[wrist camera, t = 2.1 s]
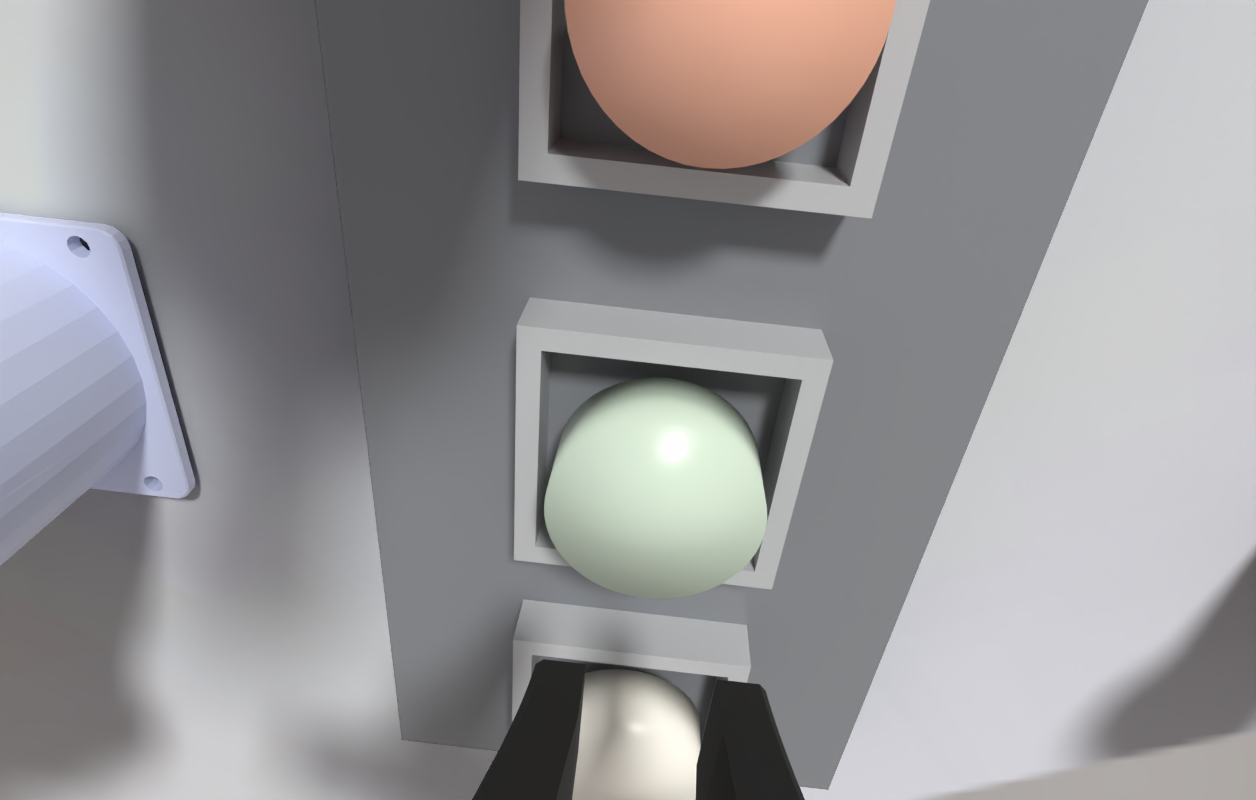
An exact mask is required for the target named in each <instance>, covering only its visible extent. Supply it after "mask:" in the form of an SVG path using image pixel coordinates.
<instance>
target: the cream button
mask: <svg viewBox="0 0 1256 800" xmlns="http://www.w3.org/2000/svg"><path fill="white" fill-rule="evenodd" d="M700 748H701V742H700V717H699V714H698V711H697V709H696V707H695V705H694V703H693V702H692V700H691V699H690V698H689V697H688V696H687V695H686V694H685V693H684V692H683V691H682V690H680V689H679V688H678V687H676V686H675V685H673V684H671V683H670V682H668V681H666V680H664V679H662V678H659V677H656V676H654V675H651V674H647V673H643V672H639V671H633V670H623V669H606V670H597V671H592V672H588V673H585V682H584V693H583V704H582V715H581V726H580V737H579V748H578V757H577V765H576V773H575V780H574V788H573V796H572V800H696V765H697V761H698V757H699V752H700Z"/></svg>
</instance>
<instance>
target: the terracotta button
mask: <svg viewBox="0 0 1256 800" xmlns="http://www.w3.org/2000/svg"><path fill="white" fill-rule="evenodd" d="M895 3H896V0H564V4H565V14H566V22H567V29H568V34H569V38H570V42H571V46H572V50H573V54H574V56H575V59H576V62H577V64H578V67H579V69H580V72H581V75H582V77H583V78H584V80H585V82H586V84H587V86H588V88H589V90H590V92H591V94H592V95H593V97H594V98H595V99H596V101H597V102H598V104H599V105H600V107H601V108H602V110H603V111H604V112H605V113H606V114H607V115H608V117H609V118H610V119H611V120H612V121H613V122H614V123H615V124H616V126H617V127H619V128H620V129H621V130H622V131H623V132H624V133H626V134H627V135H628V136H629V137H630V138H631V139H632V140H634V141H635V142H637V143H639V144H640V145H642V146H643V147H645V148H646V149H648V150H649V151H651V152H653V153H656V154H658V155H660V156H662V157H664V158H666V159H669V160H672V161H675V162H678V163H681V164H684V165H689V166H695V167H701V168H713V169H728V168H739V167H746V166H750V165H755V164H759V163H763V162H766V161H769V160H771V159H774V158H777V157H780V156H782V155H784V154H786V153H788V152H790V151H792V150H794V149H796V148H798V147H800V146H801V145H803V144H804V143H806V142H807V141H809V140H810V139H812V138H813V137H815V136H816V135H818V134H819V133H820V132H821V131H822V130H823V129H825V128H826V127H827V126H828V125H829V124H830V123H832V122H833V121H834V120H835V119H836V118H837V117H838V116H839V115H840V114H841V112H842V111H843V110H844V109H845V108H846V107H847V106H848V105H849V104H850V103H851V101H852V100H853V98H854V97H855V96H856V94H857V93H858V92H859V90H860V89H861V87H862V86H863V85H864V83H865V81H866V80H867V78H868V76H869V74H870V73H871V71H872V69H873V67H874V66H875V64H876V62H877V59H878V57H879V55H880V53H881V50H882V48H883V46H884V43H885V41H886V38H887V34H888V31H889V28H890V25H891V21H892V18H893V13H894V8H895Z"/></svg>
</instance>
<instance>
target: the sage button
mask: <svg viewBox="0 0 1256 800" xmlns="http://www.w3.org/2000/svg"><path fill="white" fill-rule="evenodd" d="M544 517H545V522H546V527H547V530H548V533H549V535H550V538H551V540H552V542H553V544H554V546H555V547H556V549H557V550H558V552H559V553H560V554H561V556H562V557H563V558H564V559H565V560H566V561H567V562H568V564H569V565H570V566H571V567H572V568H574V569H575V570H576V571H577V572H579V573H580V574H581V575H583V576H584V577H586V578H587V579H589V580H591V581H592V582H594V583H596V584H598V585H600V586H602V587H604V588H607V589H609V590H612V591H615V592H618V593H622V594H625V595H629V596H635V597H641V598H652V599H668V598H678V597H685V596H689V595H694V594H698V593H701V592H704V591H707V590H709V589H712V588H714V587H716V586H718V585H720V584H722V583H724V582H725V581H727V580H729V579H730V578H732V577H733V576H734V575H736V574H737V573H738V572H739V571H741V570H742V569H743V568H744V567H745V566H746V565H747V564H748V563H749V562H750V560H751V559H752V557H753V556H754V555H755V553H756V552H757V550H758V548H759V546H760V544H761V542H762V540H763V537H764V534H765V530H766V524H767V505H766V499H765V492H764V486H763V479H762V473H761V467H760V460H759V454H758V448H757V443H756V441H755V438H754V435H753V432H752V431H751V429H750V427H749V425H748V423H747V422H746V420H745V419H744V418H743V416H742V415H741V414H740V413H739V412H738V411H737V410H736V409H735V408H734V407H733V406H732V405H731V404H730V403H729V402H728V401H726V400H725V399H724V398H722V397H721V396H719V395H718V394H716V393H714V392H713V391H711V390H709V389H707V388H704V387H702V386H700V385H697V384H694V383H691V382H687V381H684V380H679V379H673V378H661V377H650V378H639V379H633V380H627V381H624V382H621V383H618V384H614V385H612V386H610V387H608V388H605V389H603V390H601V391H600V392H598V393H596V394H595V395H593V396H591V397H590V398H589V399H588V400H586V401H585V402H584V403H583V404H582V405H581V406H580V407H579V408H578V409H577V410H576V411H575V412H574V413H573V415H572V416H571V418H570V419H569V420H568V422H567V424H566V426H565V428H564V430H563V432H562V435H561V438H560V442H559V445H558V449H557V453H556V457H555V460H554V464H553V468H552V472H551V476H550V479H549V483H548V487H547V491H546V494H545V502H544Z"/></svg>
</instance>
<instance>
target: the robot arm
mask: <svg viewBox="0 0 1256 800" xmlns="http://www.w3.org/2000/svg"><path fill="white" fill-rule="evenodd" d="M79 237H80V238H82V239H83V240H84V241H86V242H87V244H88V246H89V247H90V251H89V250H87V249H86V248H85V247H84V246H83V245H82V244H81V242H80V239H79ZM156 478H157V479H158V480H160V481H158V480H157V479H156ZM194 487H195V478H194V474H193V471H192V467H191V464H190V460H189V456H188V453H187V449H186V446H185V442H184V438H183V435H182V431H181V427H180V424H179V420H178V417H177V413H176V409H175V406H174V402H173V398H172V395H171V391H170V388H169V384H168V380H167V377H166V373H165V370H164V366H163V362H162V359H161V355H160V351H159V348H158V344H157V341H156V337H155V333H154V330H153V326H152V322H151V319H150V315H149V312H148V308H147V304H146V301H145V297H144V294H143V290H142V286H141V283H140V279H139V275H138V272H137V268H136V265H135V261H134V257H133V254H132V250H131V247H130V244H129V242H128V240H127V238H126V237H125V236H124V235H123V234H122V233H121V232H120V231H119V230H117V229H116V228H114V227H113V226H109V225H106V224H100V223H91V222H82V221H73V220H64V219H55V218H46V217H37V216H28V215H19V214H10V213H1V212H0V566H1V565H2V564H3V563H4V562H5V561H7V560H8V559H9V558H10V557H11V556H12V555H13V554H15V553H16V552H17V551H18V550H19V549H20V548H22V547H23V546H24V545H25V544H26V543H27V542H28V541H30V540H31V539H32V538H33V537H34V536H35V535H37V534H38V533H39V532H40V531H41V530H42V529H43V528H45V527H46V526H47V525H48V524H49V523H50V522H51V521H53V520H54V519H55V518H56V517H57V516H58V515H60V514H61V513H62V512H63V511H64V510H65V509H66V508H68V507H69V506H70V505H71V504H72V503H73V502H75V501H76V500H77V499H78V498H79V497H80V496H81V495H83V494H84V493H85V492H86V491H87V490H88V489H97V490H106V491H115V492H123V493H132V494H141V495H150V496H159V497H167V498H183V497H185V496H187V495H188V494H189V493H190V492H191V491H192V490H193V488H194ZM585 671H586V664H581V663H572V662H563V661H555V660H546V659H543V660H541V661H540V662H538V663H536V664H535V667H534V670H533V673H532V676H531V679H530V682H529V684H528V687H527V689H526V692H525V694H524V697H523V699H522V702H521V704H520V706H519V709H518V711H517V713H516V715H515V718H514V720H513V722H512V724H511V726H510V728H509V730H508V732H507V734H506V737H505V739H504V741H503V743H502V745H501V747H500V749H499V751H498V753H497V755H496V757H495V759H494V760H493V762H492V764H491V766H490V768H489V770H488V772H487V773H486V775H485V777H484V779H483V781H482V783H481V785H480V786H479V788H478V790H477V792H476V794H475V796H474V797H473V799H472V800H572V796H573V788H574V780H575V773H576V765H577V757H578V748H579V737H580V726H581V715H582V704H583V693H584V682H585ZM696 800H805V799H804V797H803V794H802V792H801V789H800V787H799V784H798V782H797V779H796V777H795V774H794V772H793V769H792V766H791V764H790V761H789V759H788V756H787V753H786V751H785V748H784V745H783V742H782V740H781V737H780V734H779V731H778V728H777V725H776V722H775V719H774V716H773V713H772V710H771V707H770V704H769V700H768V697H767V693H766V690H765V689H764V688H763V687H762V686H761V685H760V684H753V683H745V682H736V681H727V680H719V679H717V680H716V684H715V689H714V693H713V697H712V701H711V706H710V710H709V714H708V718H707V723H706V727H705V731H704V735H703V740H702V744H701V748H700V752H699V757H698V761H697V765H696Z"/></svg>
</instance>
